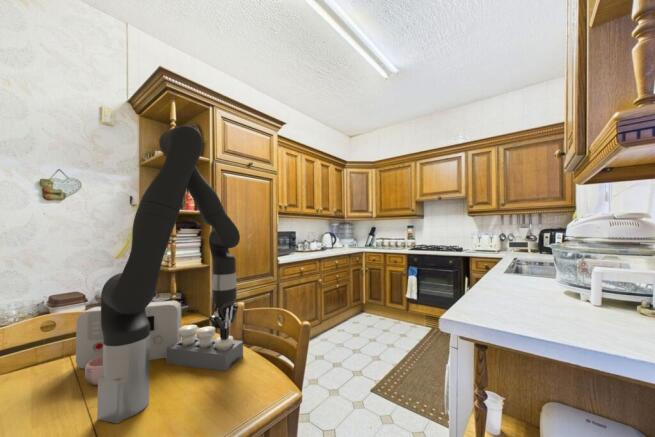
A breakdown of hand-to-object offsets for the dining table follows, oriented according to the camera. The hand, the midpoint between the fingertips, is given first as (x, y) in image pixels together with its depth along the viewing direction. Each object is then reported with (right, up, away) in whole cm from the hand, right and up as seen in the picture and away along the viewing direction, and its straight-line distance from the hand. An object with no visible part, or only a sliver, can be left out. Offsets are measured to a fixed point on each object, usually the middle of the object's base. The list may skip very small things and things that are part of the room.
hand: (224, 338), depth 87 cm
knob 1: (-14, -4, +3) cm, 14 cm away
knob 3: (0, -6, 0) cm, 6 cm away
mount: (-7, -8, +1) cm, 10 cm away
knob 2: (-7, -4, +1) cm, 8 cm away
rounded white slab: (-32, -8, +2) cm, 33 cm away
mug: (-31, -8, -9) cm, 33 cm away
